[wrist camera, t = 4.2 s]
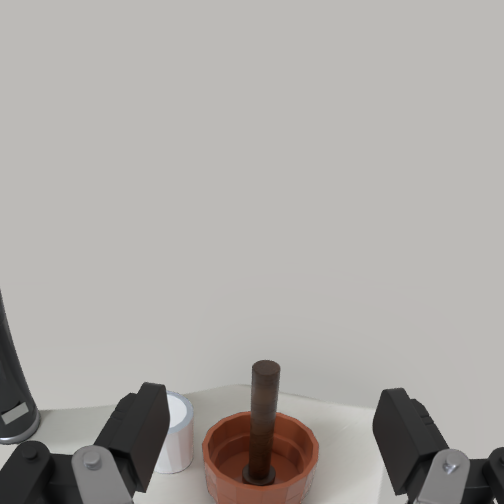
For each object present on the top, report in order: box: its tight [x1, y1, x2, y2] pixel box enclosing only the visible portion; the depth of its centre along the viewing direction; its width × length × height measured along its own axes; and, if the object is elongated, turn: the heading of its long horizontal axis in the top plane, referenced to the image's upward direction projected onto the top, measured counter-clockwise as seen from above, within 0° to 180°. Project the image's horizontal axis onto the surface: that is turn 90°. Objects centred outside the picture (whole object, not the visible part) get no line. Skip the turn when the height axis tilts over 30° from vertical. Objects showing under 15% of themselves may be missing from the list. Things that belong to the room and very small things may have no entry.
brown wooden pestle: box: [242, 360, 280, 487], centre depth 23 cm, size 3×3×14 cm
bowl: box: [202, 411, 319, 504], centre depth 24 cm, size 10×10×6 cm
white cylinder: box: [154, 390, 193, 474], centre depth 27 cm, size 7×7×7 cm
